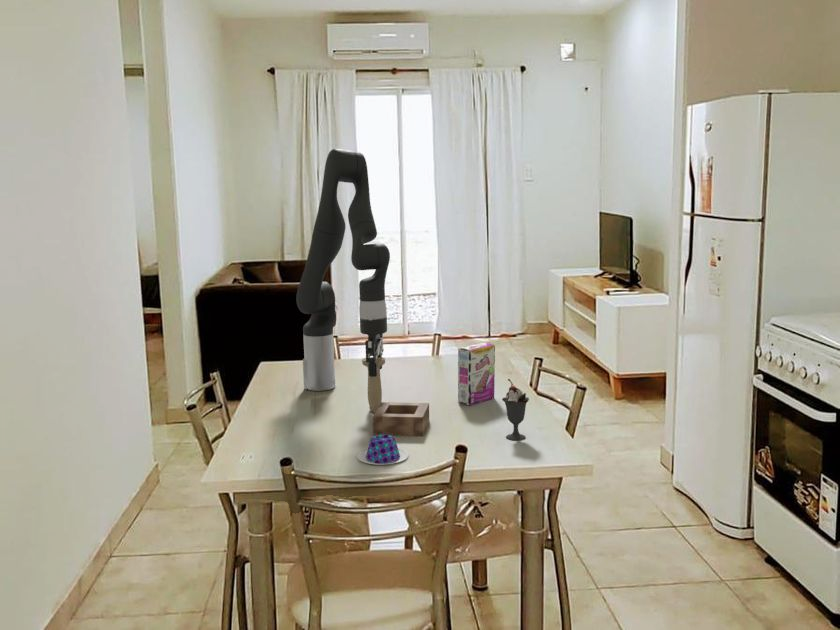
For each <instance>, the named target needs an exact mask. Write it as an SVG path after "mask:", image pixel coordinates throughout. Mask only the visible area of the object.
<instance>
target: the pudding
mask: <svg viewBox="0 0 840 630" xmlns="http://www.w3.org/2000/svg"><path fill="white" fill-rule="evenodd" d="M408 457H409V453H408V452H407V451H405V450H404V449H400V448H399V447H398V444H397V440H396V438H395V437H394V435H385V434H381V435H373V436H372V437H370V439H369V442H368V447H367V449H365V450H363V451H361V452H360V453H358V455H357V458H358V459H357V460H358V461H360V462H362V463H365V464H369V465H378V466H380V465H383V466H384V465H392V464H397V463H401V462H403V461H405V460H406V459H407V458H408Z"/></svg>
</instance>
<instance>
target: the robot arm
mask: <svg viewBox="0 0 840 630" xmlns="http://www.w3.org/2000/svg"><path fill="white" fill-rule="evenodd" d="M339 182H341V183H349V184H353V186H354V190H355V194H354V196H353V199H352V201H351V203H350V205H349V208H348V213H347V219H348V224H349V228H350V233H351V238H352V244H351V245H352V249H351V257H350V258H351V259H350V261H351V264H352V265H353V267H354V268H355V269H356V270H358V271H370V270H373V271H374V273H373V274H372V275H371V276H369V277H366V278H363V279H361V280H360V281H359V284H358V287H359V288H358V289H359V307H358V310H359V328H360V329H359V330H360V331H359V332H360V333H361V334H362V335H367V336H368V337H367V340H365V342H364V344H365V358H366V363H368V367H369V376H370V377H376V376H377V357H383V355H384V337H383V336H384V334H385V333H387V332H388V317H387V316H388V315H387V304H386V293H385V291H386V289H385V285H386V284H385V283H386V277H387V272H388V269H389V264H390V260H391V259H390V258H391V254H390V250H389V248H388V246H387V245H386V244H385V243H370V242H373V241H374V240H375V239H376V238H377V235H378V231H377V227H376V226H377V225H376V223H375V218H374V215H373V211H372V205H371V198H370V197H371V195H370V194H371V193H370V185H369V183H370V182H369V174H368V165H367V160H366V157H365V155H364V154H363V153H362V152H359V151H354V150H350V149H341V148H332V149H331V150H330V151H329V152H328V154H327V157H326V160H325V164H324V171H323V180H322V187H321V188H322V189H321V194H320V200H319V205H318V210H317V214H316V218H315V221H314V226H313V231H312V234H311V235H312V236H311V242H310V246H309V250H308V255H307V258H306V262H305V266H304V269H303V272H302V275H301V279H300V282H299V285H298V287H297V290H296V296H295V297H296V305H297V309H298V310H299V311H300V312H301V313H303V314H305V315H311V316H310V318H309V319H308V321H307V322H306V323H304V324H303V327H302V331H303V335H302V336H303V350H304V351H303V352H304V353H303V355H304V358H302V372H303V373H302V375H303V378H302V379H303V389H304V390H307V389H308V391H314V392H321V391H322V392H323V391H328V390H332V389H334V388H336V373H335V372H336V371H335V370H336V368H335V349H334V348H335V347H334V344H335V343H334V327H335V325H336V294H335V290H334V288H333V286H332V285H331V284H330V283H329V282H326V281H324V278H325V275H326V272H327V271H328V269H329V267H330V266H331V265H332V263H333V262H334V260H335V259H336V257H337V256H338V254H339V252H340V250H341V248H342V246H343V243H344V237H345V232H346V228H347V227H346V221H345V218H344V215H343V213H342V210H341V207H340V205H339V202H338V186H339ZM368 243H369V244H368ZM370 357H373V358H370ZM368 367H367V368H368ZM382 369H383V365H382V366H381V367H380V370H382Z"/></svg>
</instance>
